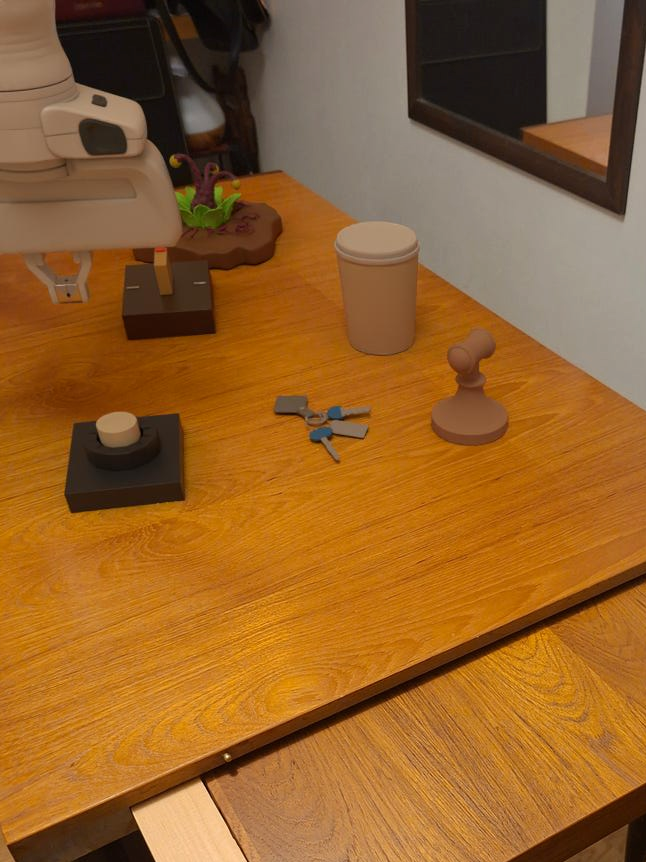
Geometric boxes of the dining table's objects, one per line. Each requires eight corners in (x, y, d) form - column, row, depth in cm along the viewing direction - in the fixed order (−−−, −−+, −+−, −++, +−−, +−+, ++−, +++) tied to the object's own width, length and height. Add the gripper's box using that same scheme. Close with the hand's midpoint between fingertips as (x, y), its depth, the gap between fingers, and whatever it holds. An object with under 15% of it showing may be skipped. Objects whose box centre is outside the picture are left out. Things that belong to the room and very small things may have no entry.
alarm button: (99, 450, 82) (94, 434, 81) (101, 429, 84) (96, 413, 83) (140, 446, 83) (136, 430, 82) (141, 425, 85) (137, 409, 84)
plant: (156, 211, 132) (138, 127, 124) (289, 216, 132) (280, 132, 125) (117, 267, 118) (94, 176, 110) (266, 273, 118) (253, 182, 110)
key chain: (262, 405, 95) (261, 398, 94) (328, 381, 99) (327, 374, 98) (336, 465, 88) (335, 458, 87) (404, 437, 92) (403, 430, 91)
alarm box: (71, 514, 81) (57, 477, 78) (79, 442, 89) (67, 406, 86) (184, 501, 83) (176, 464, 80) (183, 431, 91) (175, 396, 88)
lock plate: (127, 340, 104) (121, 314, 102) (131, 288, 114) (125, 263, 112) (216, 333, 106) (211, 307, 104) (212, 283, 116) (207, 258, 114)
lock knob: (172, 294, 106) (165, 262, 104) (160, 295, 106) (153, 263, 103) (172, 276, 110) (166, 245, 107) (160, 277, 109) (154, 246, 107)
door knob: (527, 330, 88) (487, 363, 83) (521, 418, 95) (483, 453, 90) (458, 309, 91) (414, 340, 86) (456, 396, 98) (416, 430, 93)
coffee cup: (434, 332, 108) (434, 230, 100) (397, 366, 102) (393, 260, 94) (367, 315, 111) (361, 214, 102) (327, 347, 105) (317, 242, 96)
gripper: (-146, 137, 62) (-68, 326, 72) (161, 129, 66) (195, 309, 76) (-126, 109, 66) (-55, 291, 76) (161, 104, 70) (193, 278, 80)
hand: (72, 300), depth 76 cm, fingers closed
